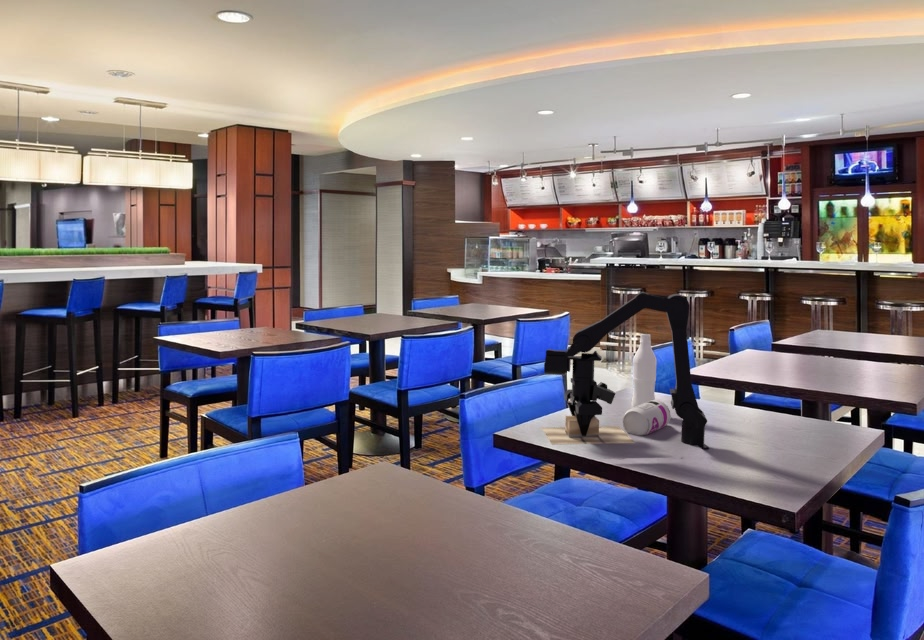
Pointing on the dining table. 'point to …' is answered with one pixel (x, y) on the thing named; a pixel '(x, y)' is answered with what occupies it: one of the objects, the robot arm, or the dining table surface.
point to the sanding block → (574, 430)
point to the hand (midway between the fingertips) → (581, 432)
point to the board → (605, 436)
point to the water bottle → (644, 372)
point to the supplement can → (646, 418)
